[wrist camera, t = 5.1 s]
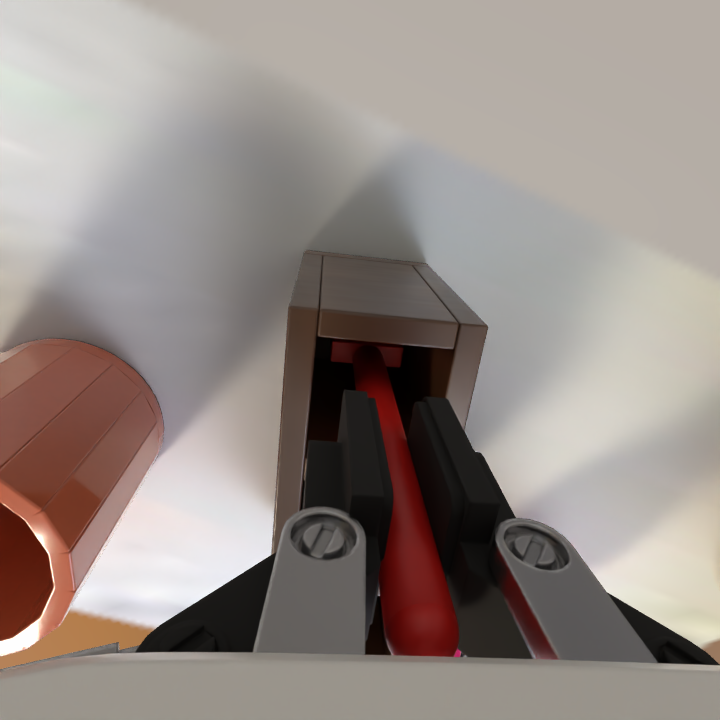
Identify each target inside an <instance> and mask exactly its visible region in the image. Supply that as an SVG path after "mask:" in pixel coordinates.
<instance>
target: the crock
mask: <svg viewBox="0 0 720 720" xmlns="http://www.w3.org/2000/svg"><path fill="white" fill-rule="evenodd" d="M163 435H164V425H163V417H162V413H161V410H160V407H159V404H158V402H157V399H156V397H155V396H154V394H153V392H152V390H151V389H150V387H149V386H148V385H147V383H146V382H145V381H144V379H143V378H142V377H141V376H140V375H139V374H138V373H137V372H136V371H135V370H134V369H133V368H131V367H130V366H129V365H128V364H127V363H125V362H124V361H123V360H121V359H119V358H118V357H116V356H115V355H113V354H111V353H109V352H107V351H105V350H103V349H101V348H98V347H96V346H93V345H91V344H87V343H83V342H79V341H74V340H68V339H40V340H34V341H30V342H26V343H23V344H20V345H18V346H15V347H13V348H11V349H10V350H8V351H6V352H3V353H0V656H4V655H7V654H11V653H15V652H20V651H23V650H26V649H28V648H29V647H31V646H32V645H33V644H35V643H36V642H38V641H39V640H40V639H42V638H43V637H44V636H46V635H47V634H49V633H50V632H51V631H53V630H54V629H56V628H57V627H58V626H60V624H61V623H62V622H63V620H64V618H65V616H66V615H67V613H68V611H69V610H70V608H71V606H72V604H73V603H74V601H75V599H76V598H77V596H78V594H79V592H80V591H81V589H82V587H83V586H84V584H85V582H86V580H87V579H88V577H89V575H90V574H91V572H92V570H93V568H94V567H95V565H96V563H97V562H98V560H99V558H100V556H101V555H102V553H103V551H104V550H105V548H106V546H107V544H108V543H109V541H110V539H111V538H112V536H113V534H114V532H115V531H116V529H117V527H118V526H119V524H120V522H121V520H122V519H123V517H124V515H125V514H126V512H127V510H128V508H129V507H130V505H131V503H132V502H133V500H134V498H135V496H136V495H137V493H138V491H139V490H140V488H141V486H142V484H143V483H144V481H145V479H146V478H147V476H148V474H149V471H150V469H151V467H152V465H153V464H154V462H155V460H156V458H157V457H158V455H159V452H160V449H161V447H162V442H163Z"/></svg>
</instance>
